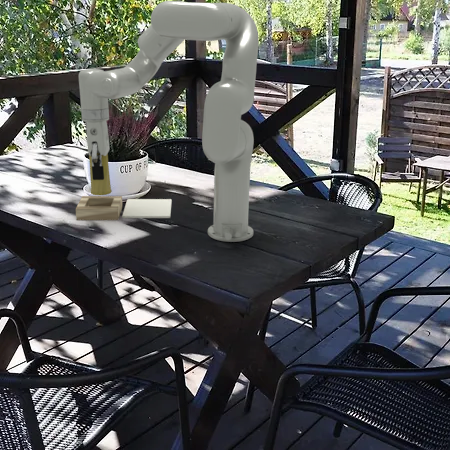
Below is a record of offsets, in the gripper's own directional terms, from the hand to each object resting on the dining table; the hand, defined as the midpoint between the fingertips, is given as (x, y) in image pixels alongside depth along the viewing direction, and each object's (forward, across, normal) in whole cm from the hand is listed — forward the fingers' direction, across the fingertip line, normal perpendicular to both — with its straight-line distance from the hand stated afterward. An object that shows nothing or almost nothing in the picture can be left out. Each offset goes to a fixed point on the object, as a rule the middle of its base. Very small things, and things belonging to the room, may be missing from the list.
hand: (100, 176), depth 175 cm
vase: (+5, 0, 0) cm, 5 cm away
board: (+12, +4, -13) cm, 18 cm away
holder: (+12, 0, +1) cm, 12 cm away
